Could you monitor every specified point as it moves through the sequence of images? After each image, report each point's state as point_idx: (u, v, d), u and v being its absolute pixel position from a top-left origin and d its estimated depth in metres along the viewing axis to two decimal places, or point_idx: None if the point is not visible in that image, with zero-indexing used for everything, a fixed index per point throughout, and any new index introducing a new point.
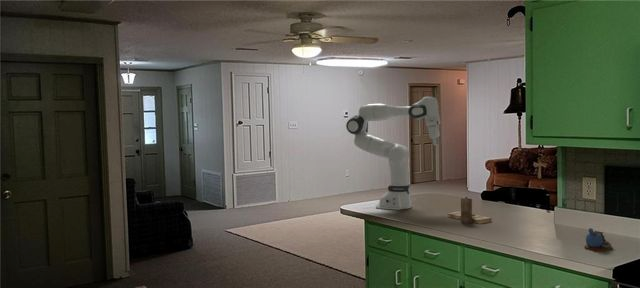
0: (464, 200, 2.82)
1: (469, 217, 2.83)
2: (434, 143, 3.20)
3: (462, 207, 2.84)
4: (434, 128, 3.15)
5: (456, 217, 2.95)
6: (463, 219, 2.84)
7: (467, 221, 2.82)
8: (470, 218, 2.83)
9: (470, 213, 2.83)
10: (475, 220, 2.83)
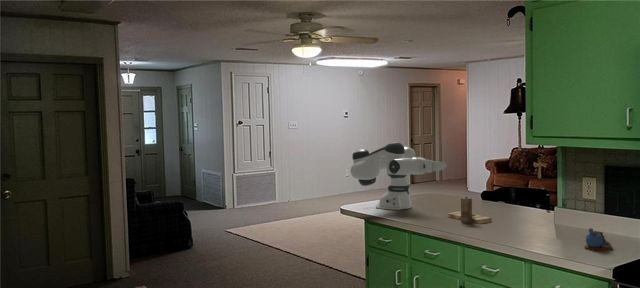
0: (464, 200, 2.82)
1: (469, 217, 2.83)
2: (445, 165, 2.72)
3: (462, 207, 2.84)
4: (436, 163, 2.65)
5: (456, 217, 2.95)
6: (463, 219, 2.84)
7: (467, 221, 2.82)
8: (470, 218, 2.83)
9: (470, 213, 2.83)
10: (475, 220, 2.83)
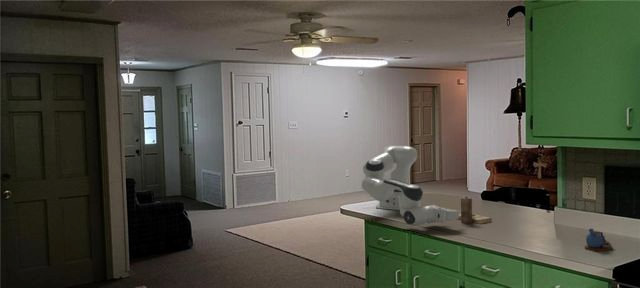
0: (464, 200, 2.82)
1: (469, 217, 2.83)
2: None
3: (462, 207, 2.84)
4: (450, 212, 2.66)
5: None
6: (463, 219, 2.84)
7: (467, 221, 2.82)
8: (470, 218, 2.83)
9: (470, 213, 2.83)
10: (475, 220, 2.83)
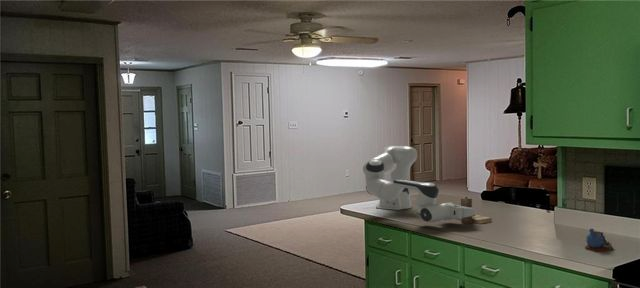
0: (464, 200, 2.82)
1: (469, 217, 2.83)
2: None
3: None
4: (466, 209, 2.71)
5: None
6: (463, 219, 2.84)
7: (467, 221, 2.82)
8: (470, 218, 2.83)
9: None
10: (475, 220, 2.83)
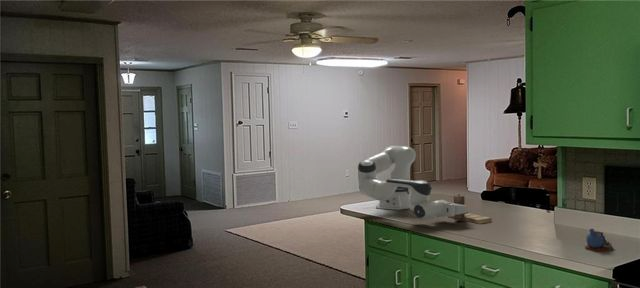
0: (457, 197, 2.87)
1: (462, 214, 2.88)
2: None
3: None
4: (459, 207, 2.76)
5: None
6: (456, 216, 2.88)
7: (460, 218, 2.87)
8: (463, 215, 2.88)
9: None
10: (475, 220, 2.83)
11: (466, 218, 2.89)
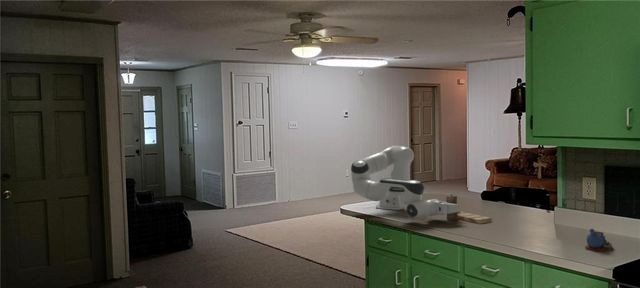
0: (449, 197, 2.92)
1: (454, 214, 2.92)
2: None
3: None
4: (451, 206, 2.81)
5: None
6: (448, 216, 2.93)
7: (452, 218, 2.92)
8: (455, 215, 2.93)
9: None
10: (475, 220, 2.83)
11: (466, 218, 2.89)
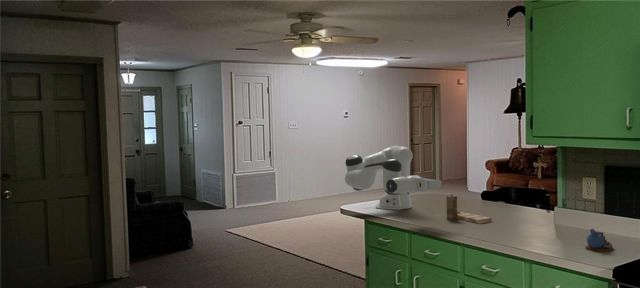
0: (449, 197, 2.92)
1: (454, 214, 2.92)
2: (439, 183, 2.82)
3: (448, 204, 2.93)
4: (431, 181, 2.74)
5: None
6: (448, 216, 2.93)
7: (452, 218, 2.92)
8: (455, 215, 2.93)
9: (455, 210, 2.93)
10: (475, 220, 2.83)
11: (466, 218, 2.89)
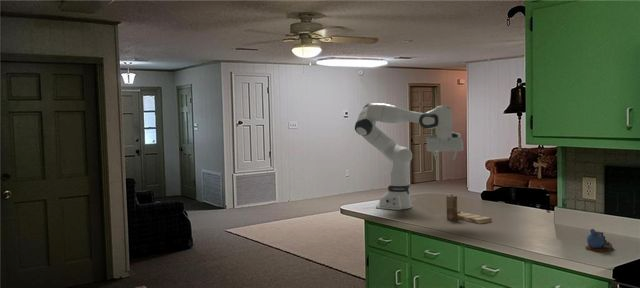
0: (449, 197, 2.92)
1: (454, 214, 2.92)
2: None
3: (448, 204, 2.93)
4: (462, 140, 2.94)
5: None
6: (448, 216, 2.93)
7: (452, 218, 2.92)
8: (455, 215, 2.93)
9: (455, 210, 2.93)
10: (475, 220, 2.83)
11: (466, 218, 2.89)
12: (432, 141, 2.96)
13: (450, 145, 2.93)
